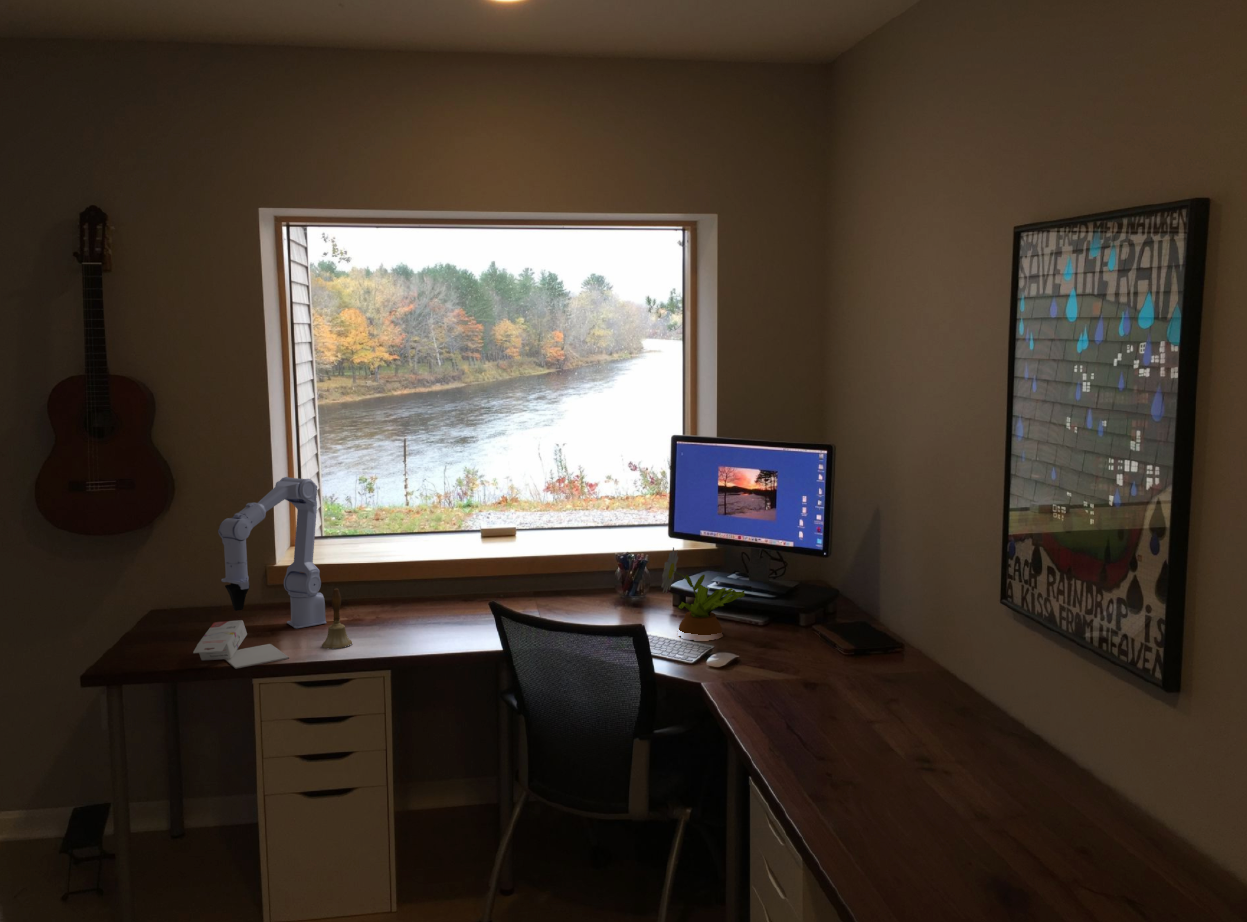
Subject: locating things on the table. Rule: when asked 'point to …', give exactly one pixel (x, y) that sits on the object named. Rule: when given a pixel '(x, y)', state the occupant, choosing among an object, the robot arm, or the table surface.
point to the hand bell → (336, 626)
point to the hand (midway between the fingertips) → (238, 609)
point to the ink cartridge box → (221, 640)
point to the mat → (256, 656)
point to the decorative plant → (698, 602)
